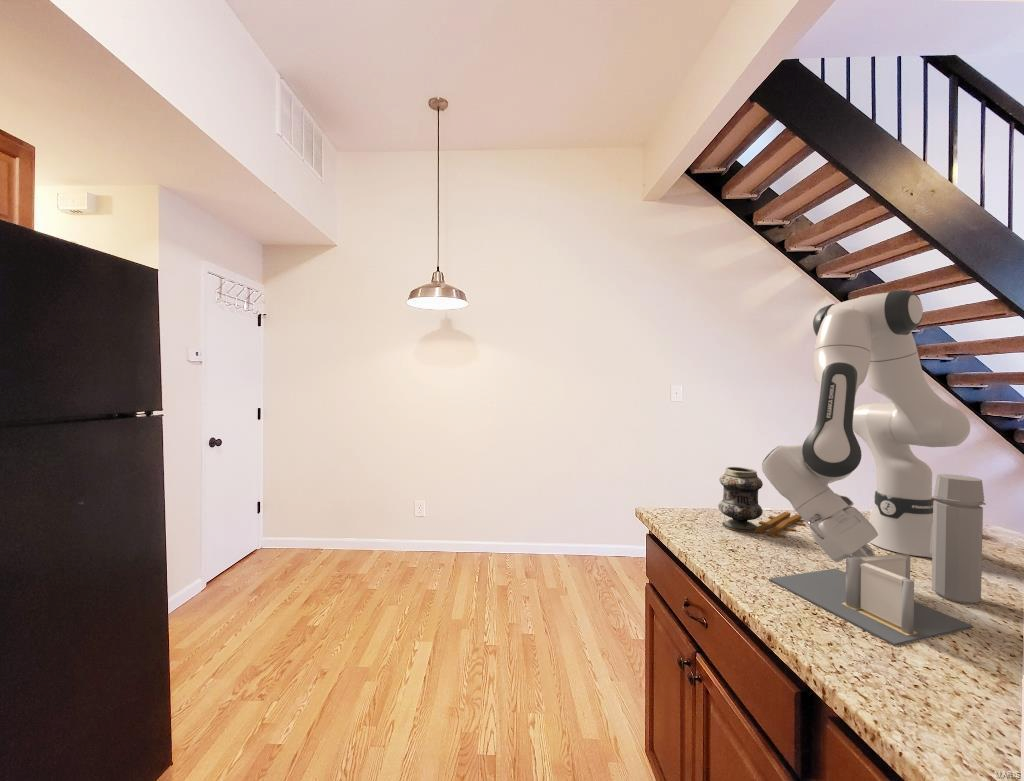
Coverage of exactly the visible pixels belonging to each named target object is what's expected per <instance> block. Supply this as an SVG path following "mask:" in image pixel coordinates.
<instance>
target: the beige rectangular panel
mask: <svg viewBox="0 0 1024 781" xmlns="http://www.w3.org/2000/svg"><path fill="white" fill-rule="evenodd" d="M911 556H912V555H908V554H903V553H896V554H895V553H894V554H885V555H883V554H882V555H881V554H880V555H876V556H870V557H859V558H861V559H862V564H864V563H868V564H870V565H873V566H876V567H878V568H881V569H884V570H886V571H889V572H891V573H894V574H897V575H899V576H902V577H905V578H907V579H910V580H911Z"/></svg>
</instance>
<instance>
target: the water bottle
mask: <svg viewBox="0 0 1024 781" xmlns="http://www.w3.org/2000/svg"><path fill="white" fill-rule="evenodd" d="M983 485H984V484H983V479H981V478H978V477H974V476H968V475H959V474H953V473H952V474H950V473H949V474H947V473H939V474H936V478H935V484H934V489H933V490H934V491H933V495H932V496H931V497H932V498H935V499H937V500H934V501H933V547H932V558H931V559H932V560H931V564H932V565H931V589H932V590H933V592H934V593H935V594H936V595H938V596H940V597H941V598H944V599H946V600H950V601H952V602H956V603H961V604H966V605H968V604H969V605H970V604H971V605H972V604H974V605H975V604H977V603H979V602H980V601H981V600H982V575H983V574H982V572H983V571H982V569H983V568H982V566H983V529H984V528H983V523H984V517H983V515H984V507H982V505H983V506H987V505H986V504H987V503H985V494H984V487H983Z"/></svg>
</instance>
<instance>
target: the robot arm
mask: <svg viewBox="0 0 1024 781" xmlns="http://www.w3.org/2000/svg"><path fill="white" fill-rule="evenodd" d="M923 312H924V307H923V304H922V301H921V299H920V297H919V296H918V295H917V294H916V293H915V292H913V291H912V290H907V289H897V290H891V291H889V292H882V293H872V294H867V295H863V296H859V297H856V298H853V299H848V300H845V301H842V302H838V303H831V304H828V305H825V306H824V307H822V308H820V309H819V310H818V311H817V312H816V313H815V315H814V317H813V320H812V327H813V332H814V334H815V336H816V337H815V339H816V340H815V344H814V349H813V357H812V368H813V378H814V380H815V382H816V383H817V384H818V387H819V400H818V406H817V407H818V409H817V416H816V421H815V425H814V427H813V429H812V430H811V431H810V433H809V434H807V437H806V438H805V440H804V442H803V443H801V444H795V445H778V446H776V447H775V448H774V449H772V450H771V451H770V452H768V454H767V455H766V457H764V459H763V460H762V464H761V469H762V470H761V471H762V473H763V474H764V476H765V477H766V478H767V480H768V481H769V482H770V484H771V485H772V486H773V487H774V489H775V491H778V493H779V494H780V496H782V497H784V498H785V499H786V500H787V501H789V503H790V505H791V506H792V508H793V510H794V511H795V512H796V513H797V514H798V515H800V516H801V517H802V520H804V522H805V524H807V525H808V527H809V529H810V530H809V531H810V534H811V536H812V537H813V539H814V540H815V542H816V543H817V545H819V546H820V548H821V549H822V550H823V551H824V553H825V554H826V555H827V556H828V558H829V559H831V560H832V561H834V562H835V563H839V562H841V561H843V560H846V556H850V555H851V556H856V557H870V556H877V555H876V554H875V552H874V549H873V548H872V547H871V546H870V543H871V544H873V546H877V547H879V548H882V549H884V550H887V551H892V552H894V553H895V552H896V553H897V554H907V555H909V556H917V557H924V558H931V559H932V547H933V501H934V500H937V499H935V498H932V497H931V496H933V470H932V469H931V467H930V465H928V464H927V463H926V462H925V461H923V460H921V459H920V458H918V457H917V456H916V455H915V453H913V451H912V450H911V447H910V446H911V445H912V446H919V447H928V448H949V447H957V446H959V445H961V444H962V443H964V442H965V441H966V440H967V439H968V437H969V435H970V433H971V422H970V420H969V418H968V416H967V415H966V414H965V413H964V412H963V411H962V410H960V409H959V408H957V407H955V406H953V405H951V404H949V403H948V402H946V401H945V400H943V399H942V398H941V396H939V395H938V394H937V393H936V392H935V390H933V388H932V387H931V386H930V385H929V383H928V381H927V379H926V377H925V375H924V372H923V368H922V364H921V361H920V356H919V352H918V348H917V344H916V341H915V338H914V335H913V332H912V331H914V330H916V329H917V327H918V326H919V325H921V322H922V320H923ZM865 379H866V380H867V382H868V386H869V387H870V388H871V389H872V390H873V391H874V392H877V393H878V394H880V395H882V396H884V397H885V398H886V399H888V400H889V401H890V402H880V401H879V402H874V403H865V404H860V405H858V406H857V407H856V408H855V402H856V395H857V392H858V389H859V387H860V386H861V385H863V383H864V382H865ZM855 434H856V435H857V436H859V437H860V438H861V439H862V440H863V441H864V443H866V445H867V446H868V448H869V450H870V452H871V454H872V456H873V459H874V462H875V468H876V490H875V491H874V496H873V499H874V505H875V506H874V507H873V508H871V510H870V516H869V520H868V519H867V518H866V517H865V516H864V515H863V513H862V512H861V511H860V510H859V509H857V507H854V501H852V500H851V498H850V497H848V496H845V495H840V494H838V493H835V492H834V491H833V490H832V488H831V487H829V484H831V483H834V482H837V481H842V480H844V479H846V478H848V477H849V476H850V475H851V474H852V473H853V472H854V471H855V470H856V469H857V468H858V466H859V465H860V463H861V460H862V448H861V445H860V444H859V442H858V441H859V440H858V439H857V437H856V435H855Z"/></svg>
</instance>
